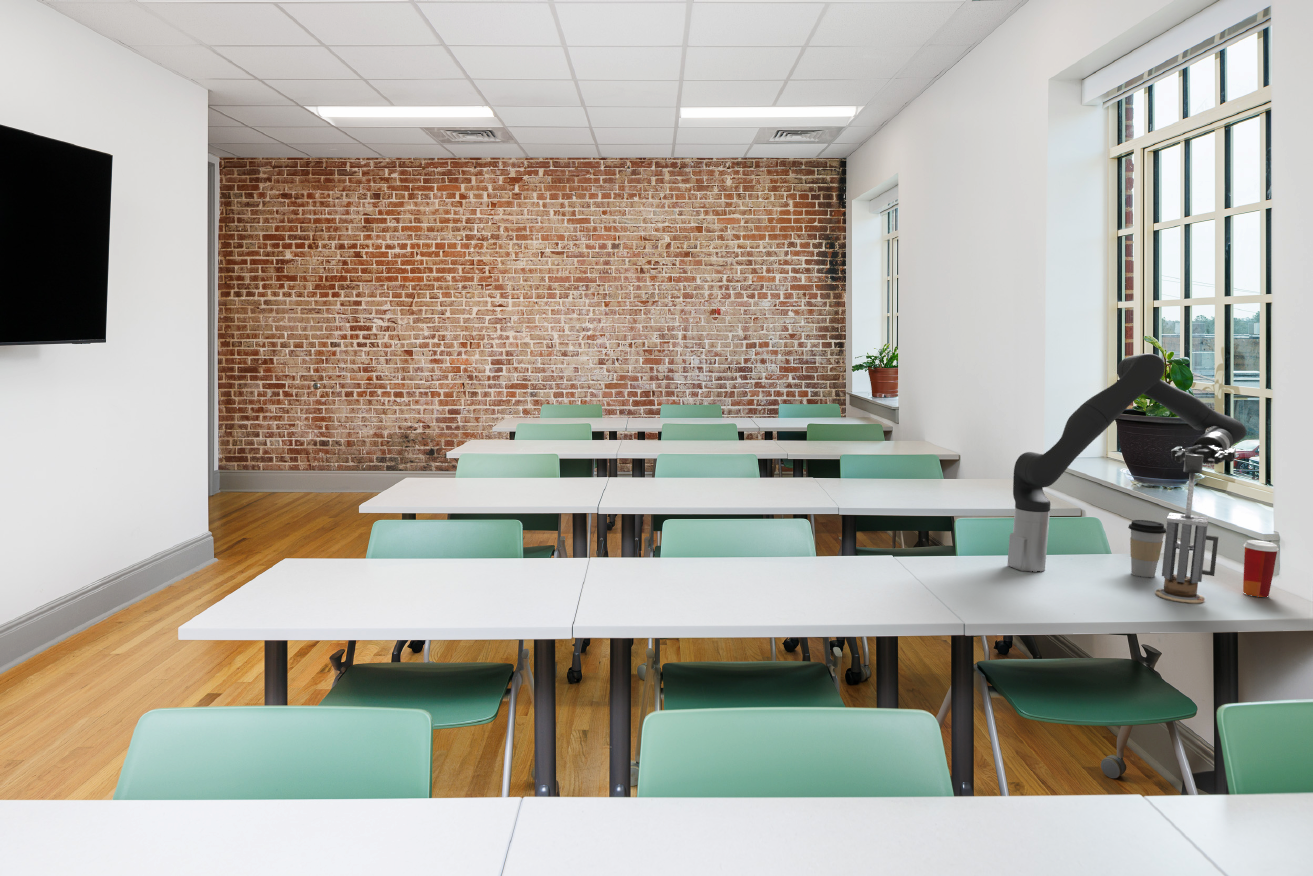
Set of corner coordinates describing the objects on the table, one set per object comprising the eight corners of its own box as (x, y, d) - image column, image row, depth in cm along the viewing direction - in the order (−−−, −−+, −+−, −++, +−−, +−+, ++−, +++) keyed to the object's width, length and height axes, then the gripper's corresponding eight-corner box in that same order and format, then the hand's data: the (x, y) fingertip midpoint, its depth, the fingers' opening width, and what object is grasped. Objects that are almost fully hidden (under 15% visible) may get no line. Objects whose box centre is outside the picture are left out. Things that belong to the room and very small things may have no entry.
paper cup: (1267, 592, 233) (1273, 541, 232) (1277, 600, 226) (1283, 547, 225) (1234, 589, 236) (1239, 538, 234) (1242, 596, 229) (1248, 544, 227)
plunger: (1185, 551, 222) (1195, 456, 219) (1165, 545, 227) (1175, 453, 224) (1204, 550, 223) (1214, 456, 220) (1184, 544, 229) (1193, 453, 226)
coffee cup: (1166, 580, 243) (1172, 527, 241) (1130, 577, 244) (1135, 525, 243) (1154, 571, 252) (1159, 520, 250) (1119, 569, 254) (1124, 518, 252)
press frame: (1153, 597, 225) (1161, 517, 223) (1157, 588, 234) (1164, 511, 232) (1210, 607, 218) (1219, 525, 216) (1212, 597, 227) (1220, 518, 225)
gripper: (1181, 433, 245) (1166, 444, 234) (1241, 434, 235) (1228, 446, 224) (1182, 459, 246) (1166, 472, 235) (1242, 461, 237) (1229, 475, 225)
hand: (1197, 459), depth 229 cm, fingers open, 8 cm apart
